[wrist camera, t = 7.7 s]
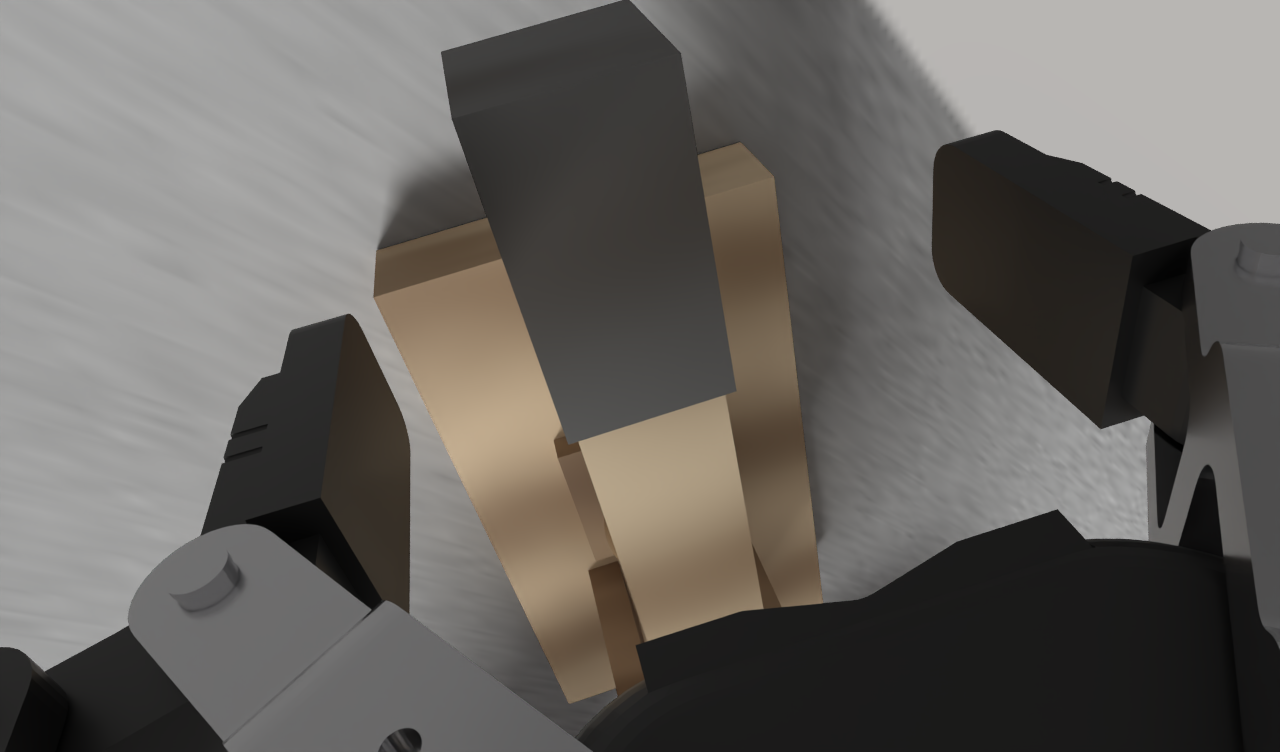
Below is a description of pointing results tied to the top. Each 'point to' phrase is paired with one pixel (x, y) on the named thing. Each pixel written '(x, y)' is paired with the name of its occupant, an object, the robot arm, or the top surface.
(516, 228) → the lever
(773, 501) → the press base
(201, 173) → the top surface
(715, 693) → the robot arm
